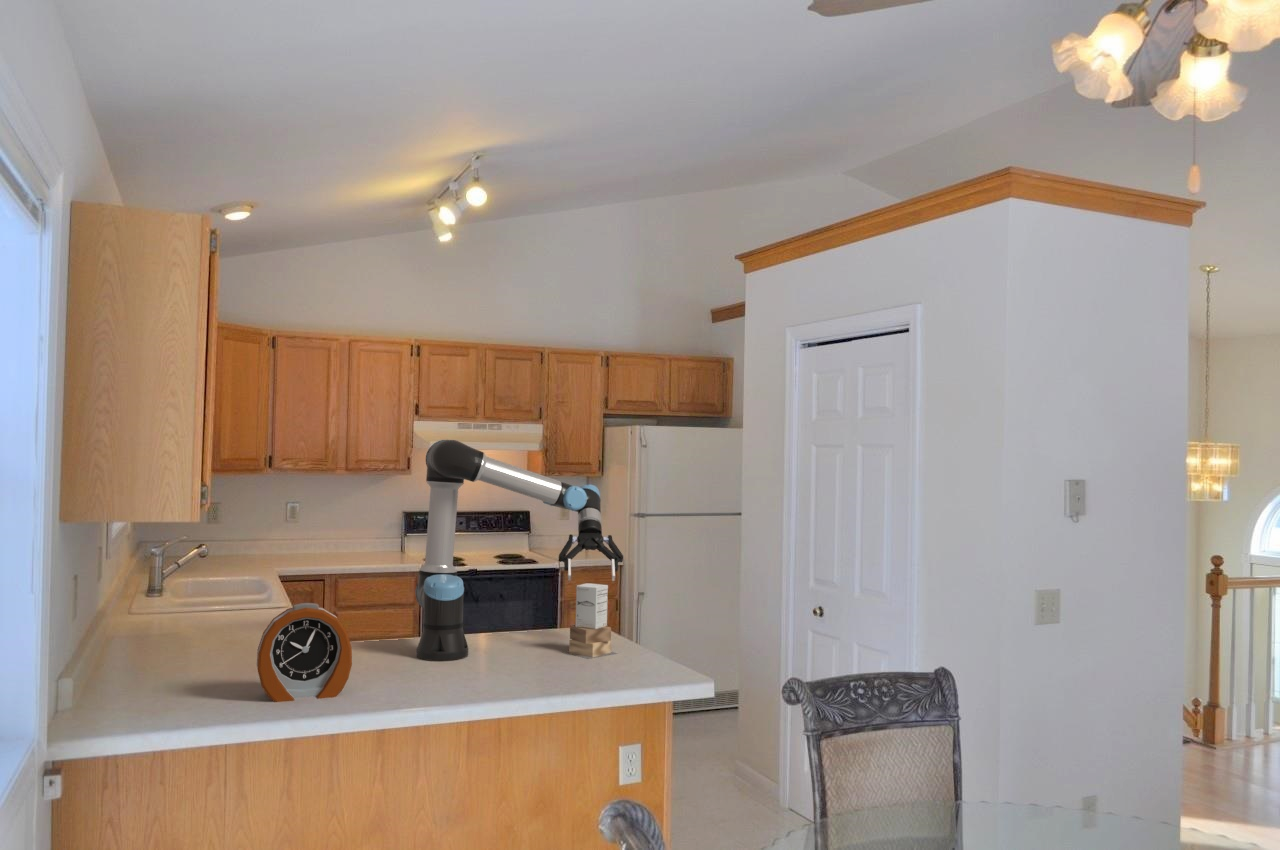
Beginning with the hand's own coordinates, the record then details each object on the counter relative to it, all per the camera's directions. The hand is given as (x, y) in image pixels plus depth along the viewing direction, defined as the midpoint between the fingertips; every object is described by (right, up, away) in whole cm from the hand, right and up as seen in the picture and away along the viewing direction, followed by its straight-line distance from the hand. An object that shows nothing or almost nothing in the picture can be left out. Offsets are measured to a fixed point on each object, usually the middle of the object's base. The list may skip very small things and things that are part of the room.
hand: (591, 578), depth 298 cm
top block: (0, -18, -4) cm, 19 cm away
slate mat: (0, -23, -4) cm, 23 cm away
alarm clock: (-69, -20, -56) cm, 91 cm away
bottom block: (0, -22, -4) cm, 22 cm away
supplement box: (0, -14, -3) cm, 15 cm away
